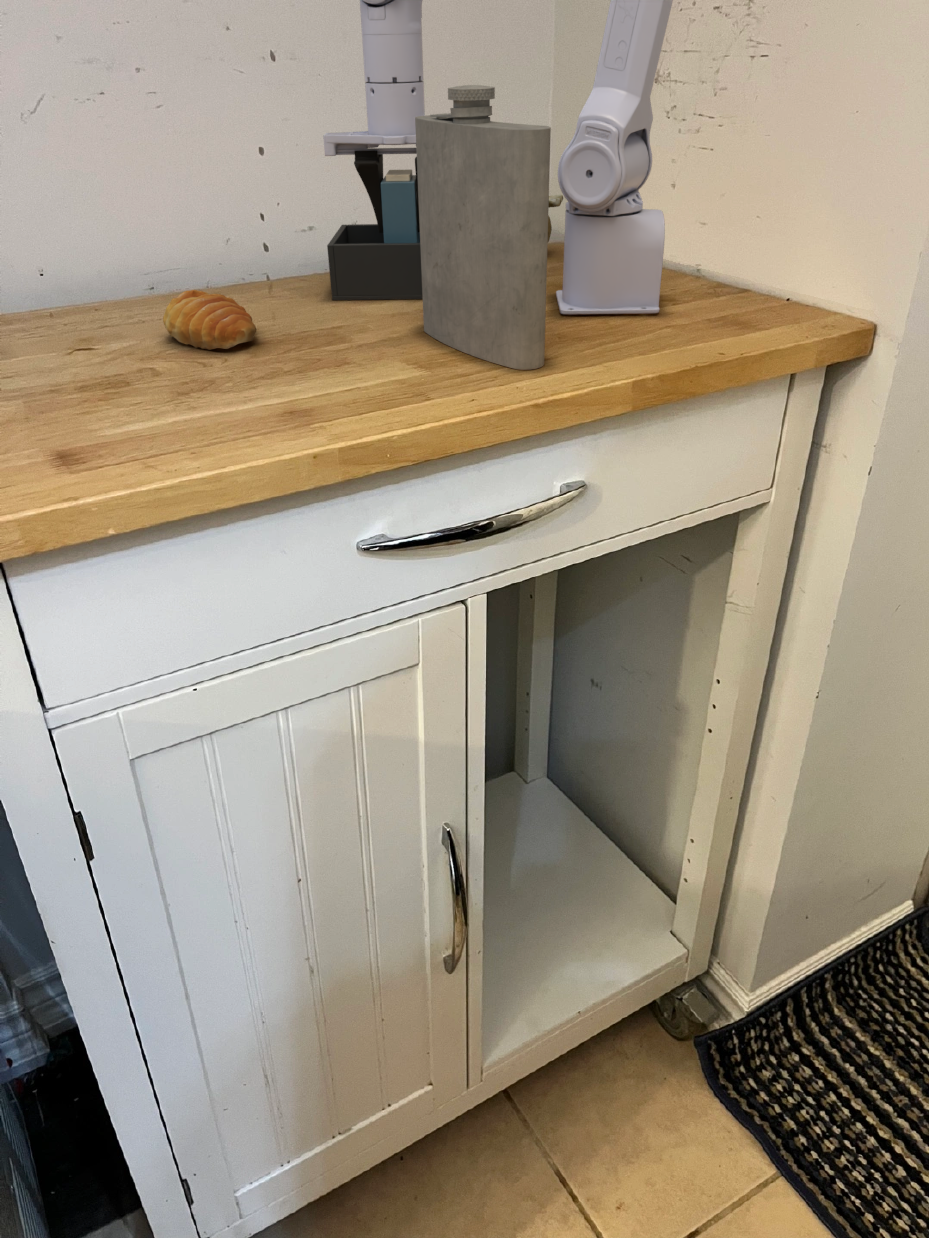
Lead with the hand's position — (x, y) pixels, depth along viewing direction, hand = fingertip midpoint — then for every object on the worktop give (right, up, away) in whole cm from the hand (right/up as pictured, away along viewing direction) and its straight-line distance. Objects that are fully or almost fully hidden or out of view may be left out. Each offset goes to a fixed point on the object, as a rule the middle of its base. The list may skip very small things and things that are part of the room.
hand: (401, 231), depth 98 cm
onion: (+13, +3, +15) cm, 21 cm away
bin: (0, -5, +3) cm, 6 cm away
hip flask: (+8, -17, -16) cm, 25 cm away
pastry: (-16, -15, -12) cm, 26 cm away
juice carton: (0, -2, +1) cm, 2 cm away
